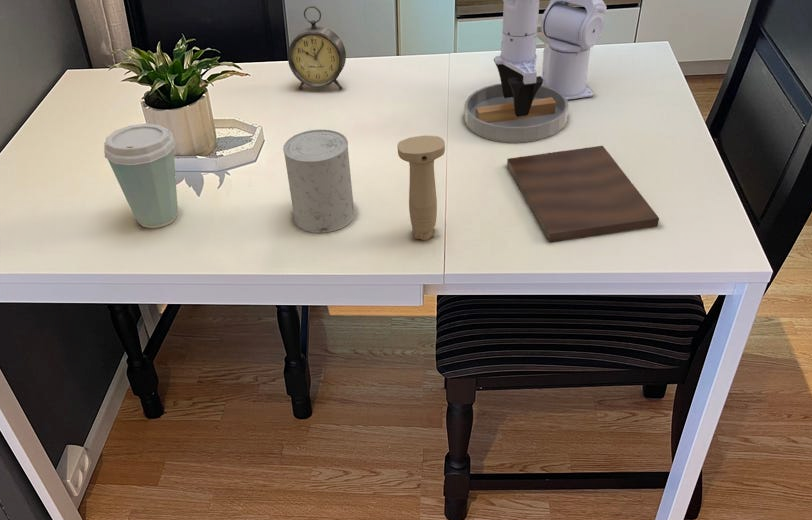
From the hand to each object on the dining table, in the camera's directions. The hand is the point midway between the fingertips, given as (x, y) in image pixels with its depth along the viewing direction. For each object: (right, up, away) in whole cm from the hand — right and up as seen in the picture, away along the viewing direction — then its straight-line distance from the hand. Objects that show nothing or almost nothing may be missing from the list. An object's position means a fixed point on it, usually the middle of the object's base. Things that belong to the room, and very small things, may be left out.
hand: (515, 105), depth 140 cm
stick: (0, -2, +1) cm, 2 cm away
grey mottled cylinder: (-33, -22, -17) cm, 44 cm away
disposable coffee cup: (-60, -22, -14) cm, 65 cm away
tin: (0, -2, +2) cm, 3 cm away
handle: (-19, -25, -24) cm, 39 cm away
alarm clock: (-35, +8, +19) cm, 41 cm away
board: (+6, -19, -19) cm, 27 cm away
